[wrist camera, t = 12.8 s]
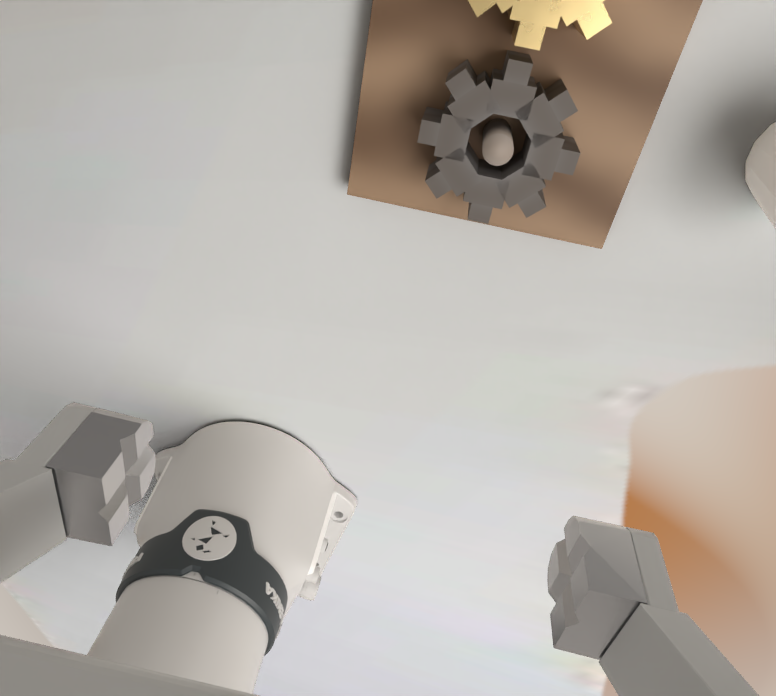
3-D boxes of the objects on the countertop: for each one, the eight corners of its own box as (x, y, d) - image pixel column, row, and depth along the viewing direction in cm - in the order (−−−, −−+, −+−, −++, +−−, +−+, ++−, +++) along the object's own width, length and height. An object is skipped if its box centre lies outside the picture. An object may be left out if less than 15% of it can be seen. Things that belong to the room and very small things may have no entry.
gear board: (598, 239, 38) (611, 274, 34) (351, 186, 39) (335, 215, 34) (760, -170, 27) (809, -191, 23) (409, -240, 27) (395, -272, 23)
